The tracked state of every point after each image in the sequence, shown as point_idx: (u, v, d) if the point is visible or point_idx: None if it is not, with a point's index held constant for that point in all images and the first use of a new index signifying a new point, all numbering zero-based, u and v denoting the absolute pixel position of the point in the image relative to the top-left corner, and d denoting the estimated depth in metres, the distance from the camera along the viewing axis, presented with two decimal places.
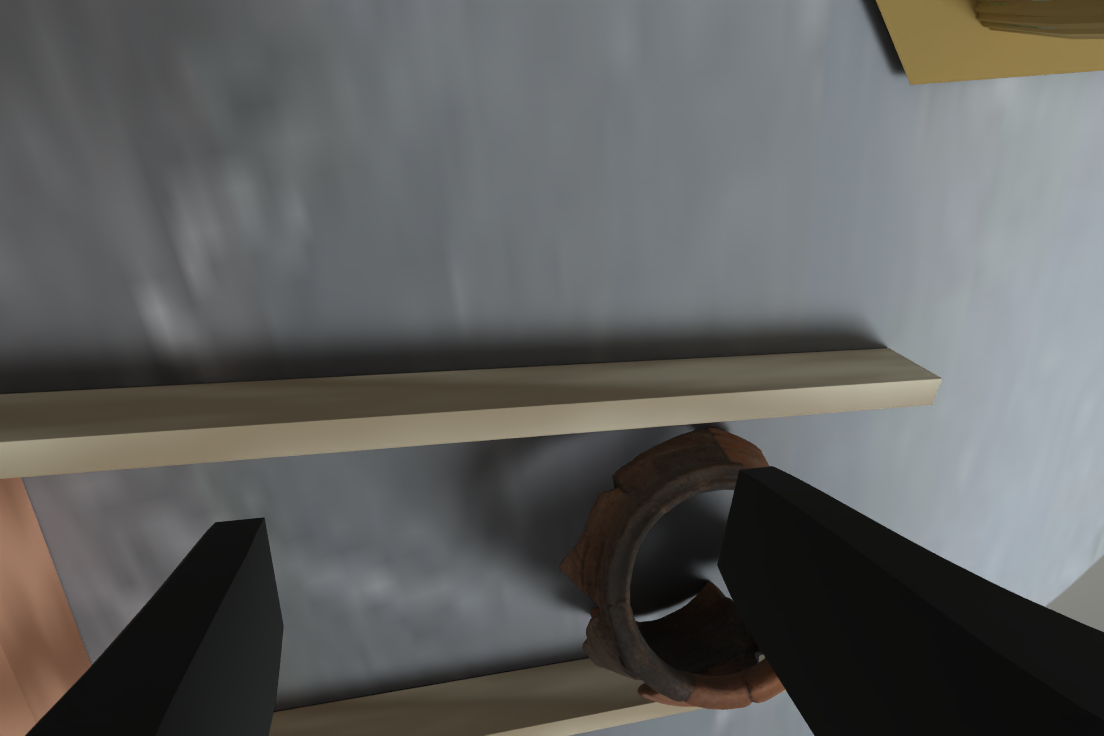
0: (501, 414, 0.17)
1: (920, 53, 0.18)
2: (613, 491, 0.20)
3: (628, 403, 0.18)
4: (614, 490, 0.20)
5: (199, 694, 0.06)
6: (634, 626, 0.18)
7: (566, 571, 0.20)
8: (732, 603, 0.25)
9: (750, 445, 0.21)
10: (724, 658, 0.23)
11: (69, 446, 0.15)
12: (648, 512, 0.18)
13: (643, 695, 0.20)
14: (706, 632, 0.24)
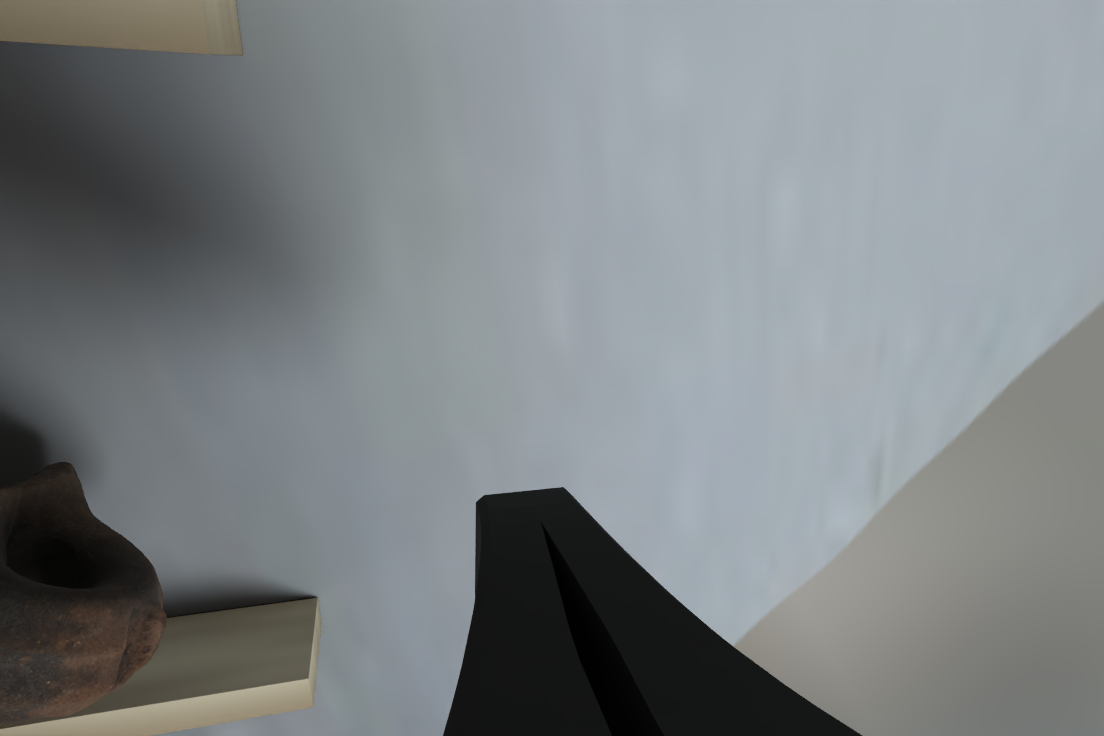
0: None
1: None
2: None
3: None
4: None
5: None
6: None
7: None
8: None
9: None
10: None
11: None
12: None
13: None
14: None
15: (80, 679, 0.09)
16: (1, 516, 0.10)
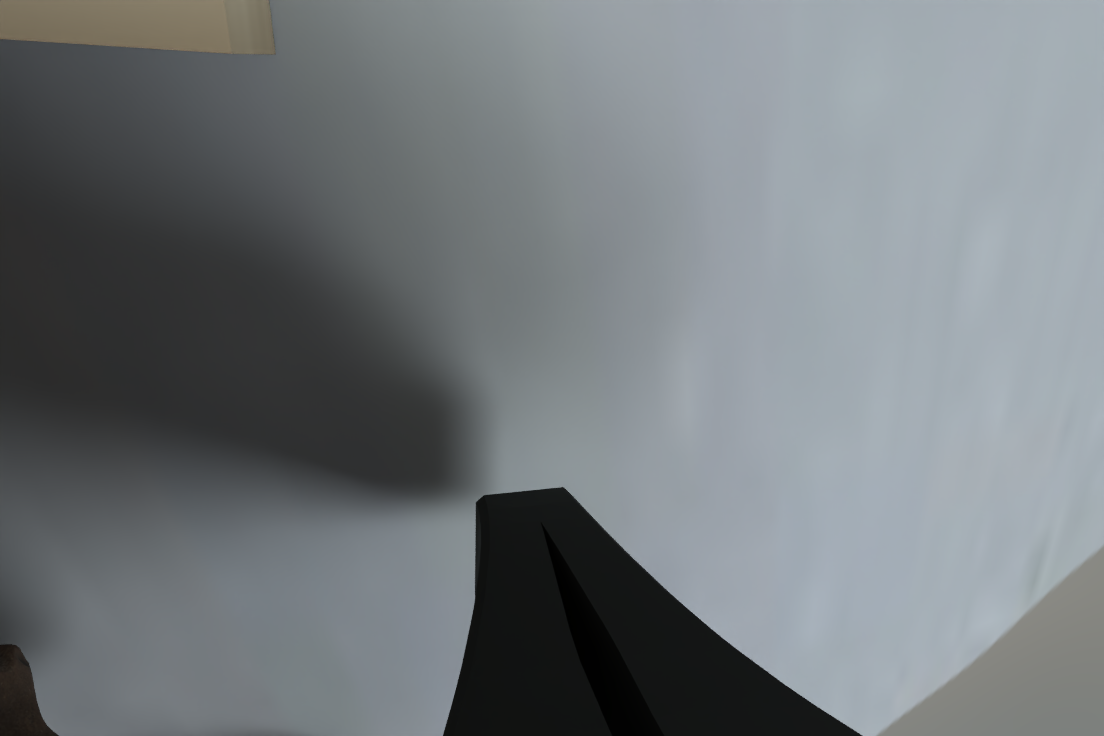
0: None
1: None
2: None
3: None
4: None
5: None
6: None
7: None
8: None
9: None
10: None
11: None
12: None
13: None
14: None
15: None
16: None
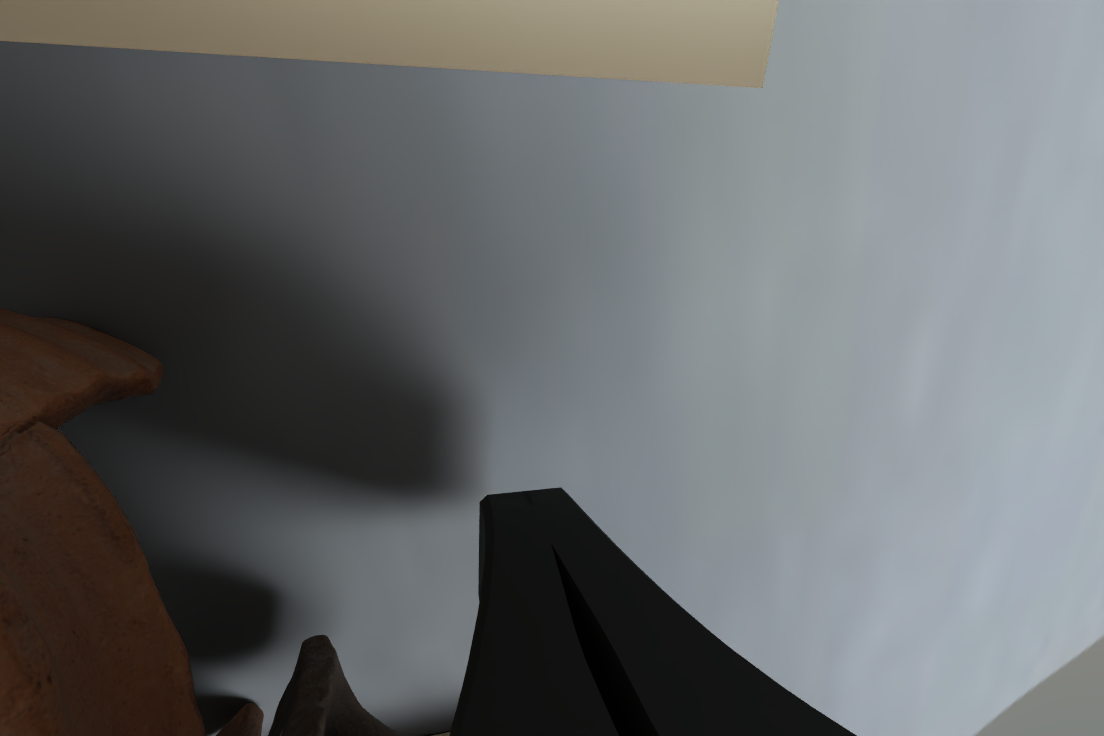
0: None
1: None
2: None
3: None
4: None
5: None
6: None
7: None
8: None
9: (54, 355, 0.07)
10: None
11: None
12: None
13: None
14: None
15: None
16: None
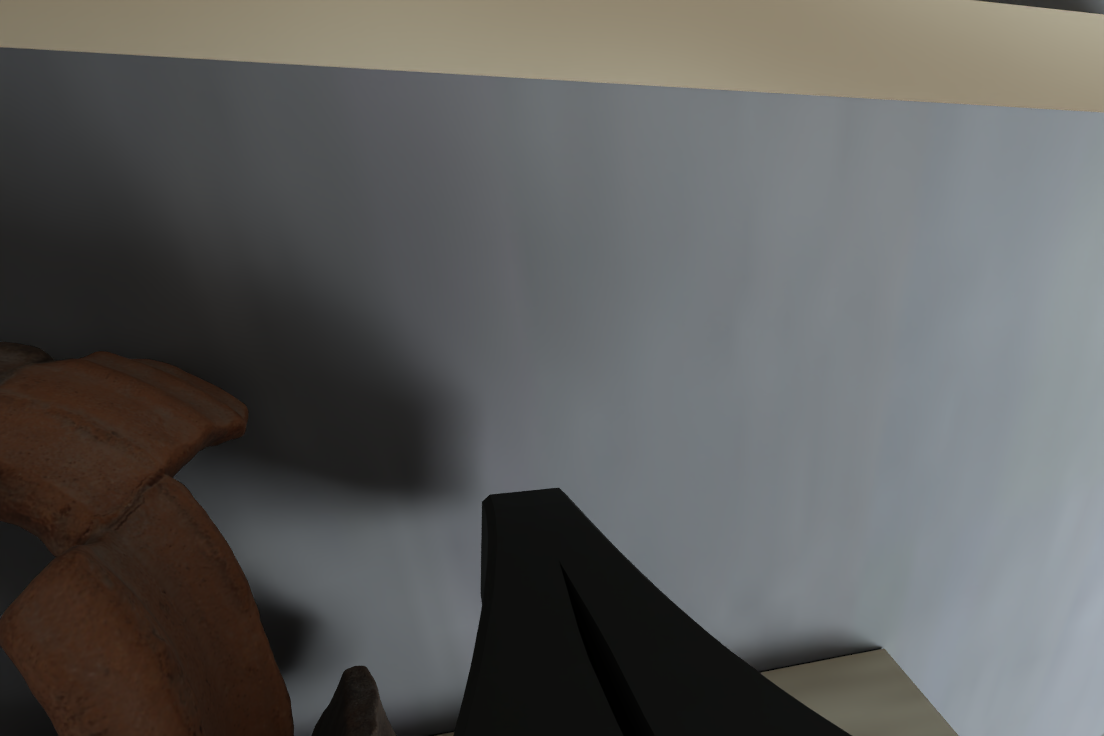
0: None
1: None
2: None
3: None
4: None
5: None
6: None
7: None
8: None
9: (168, 405, 0.07)
10: None
11: None
12: None
13: None
14: None
15: None
16: None
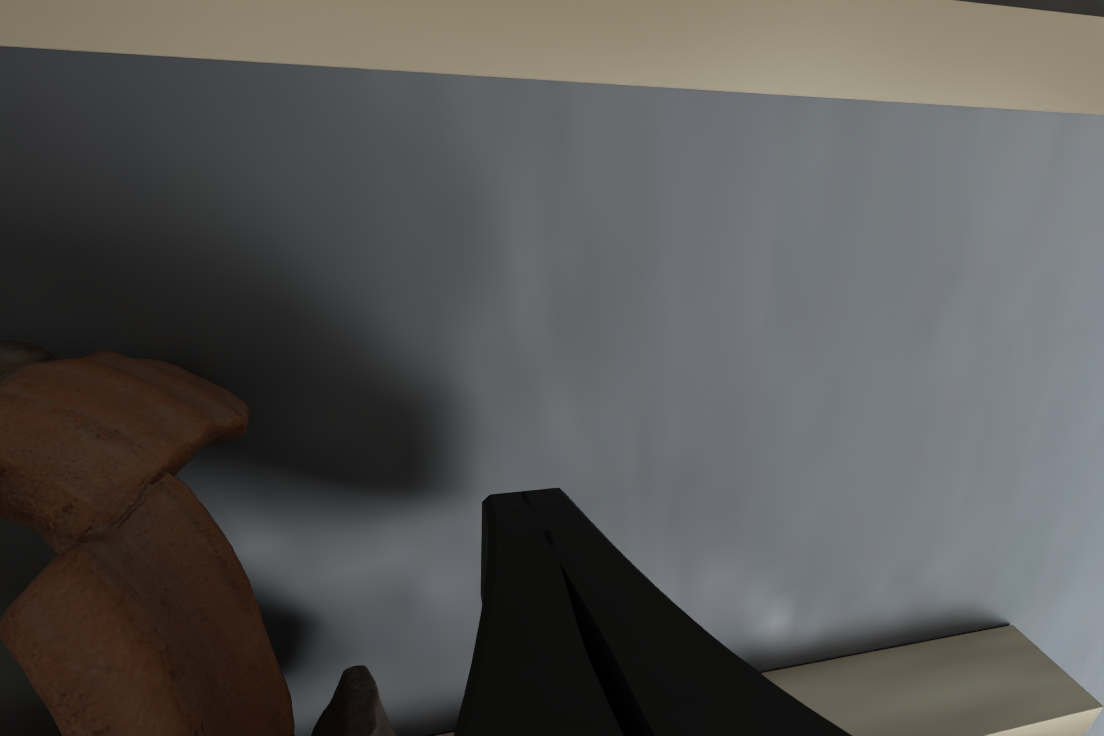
0: None
1: None
2: None
3: (880, 8, 0.06)
4: None
5: None
6: None
7: None
8: None
9: (170, 404, 0.07)
10: None
11: None
12: None
13: None
14: None
15: None
16: None
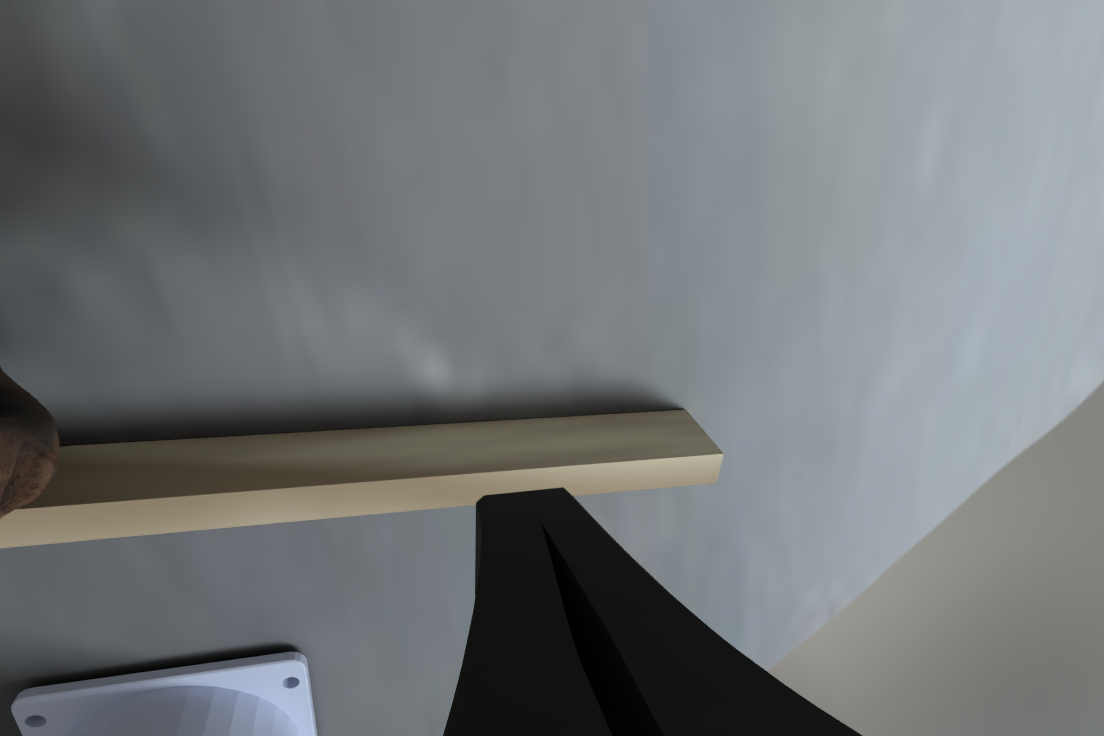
0: None
1: None
2: None
3: None
4: None
5: None
6: None
7: None
8: None
9: None
10: None
11: None
12: None
13: None
14: None
15: None
16: None
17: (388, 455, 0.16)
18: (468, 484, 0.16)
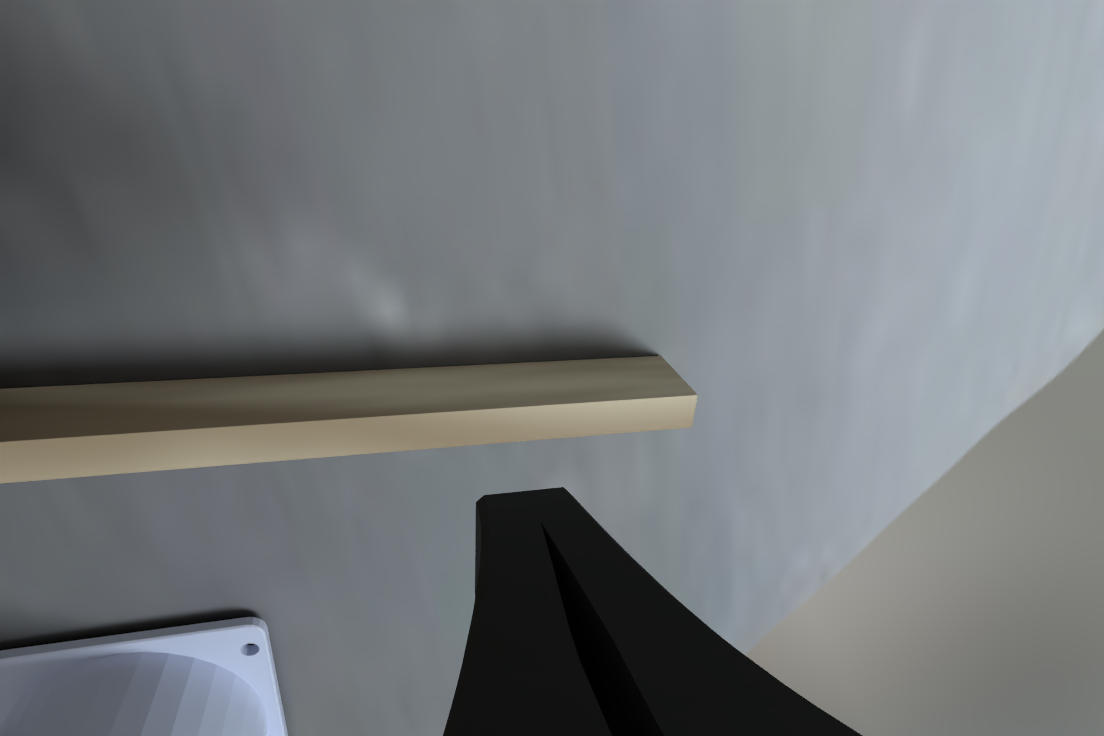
0: None
1: None
2: None
3: None
4: None
5: None
6: None
7: None
8: None
9: None
10: None
11: None
12: None
13: None
14: None
15: None
16: None
17: (338, 397, 0.15)
18: (422, 425, 0.15)
